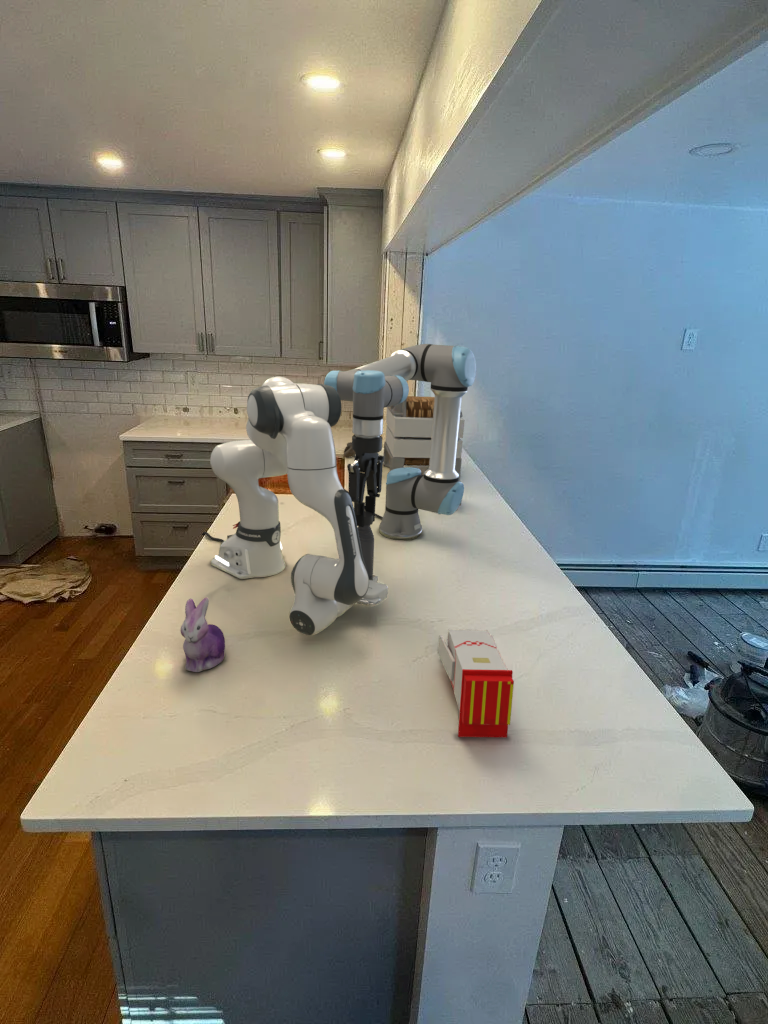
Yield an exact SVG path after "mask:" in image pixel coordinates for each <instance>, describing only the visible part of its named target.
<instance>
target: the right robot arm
mask: <svg viewBox="0 0 768 1024" xmlns="http://www.w3.org/2000/svg"><path fill="white" fill-rule="evenodd" d="M476 377H477V362H476V357H475V355H474V352H473V350H472V349H471V348H469V347H466V346H461V345H449V344H447V345H446V344H432V343H419V344H416V345H411V346H408V347H405V348H401V349H398V350H395V351H394V352H392V354H391V355H390V356H389V357H385V358H382V359H379V360H376V361H373V362H370V363H367V364H364V365H362V366H359V367H356V368H353V369H349V370H346V371H345V370H331V371H328V373H327V374H326V376H325V378H324V381H323V384H324V385H328V386H331V387H333V388H334V389H335V390H336V391H337V393H338V394H339V396H340V399H341V401H343V402H352V430H351V431H352V434H353V435H352V436H351V442H352V449H353V451H355V453H356V454H355V455H354V458H353V459H354V461H353V462H352V463H347V473H348V490H347V489H345V488H344V487H343V489H344V491H346V492H347V493H348V494H349V495H350V497H351V500H352V503H353V507H354V512H355V517H356V522H357V527H358V526H360V527H364V516H365V511H368V512H371V513H373V523H374V522H375V521H376V518H378V519H380V520H381V522H379V525H378V533H379V534H380V535H381V536H382V537H385V538H387V539H389V540H395V541H410V540H415V539H418V538H420V537H421V536H422V535H423V525H422V524H421V518H420V515H419V510H421V511H426V512H429V513H435V514H438V515H445V516H451V515H453V514H454V513H456V511H457V510H458V509H459V507H460V506H461V505H460V503H461V504H462V500H463V497H464V493H465V485H464V483H463V482H461V481H460V482H459V474H458V473H457V472H456V471H455V463H456V453H457V443H458V432H459V422H460V412H462V401H463V400H462V399H463V396H464V395H466V394H467V393H468V388H470V387H472V386H473V385H474V383H475V379H476ZM409 381H418V382H426V383H430V390H431V392H432V393H433V394H434V397H435V399H434V411H433V423H432V436H431V448H430V461H429V465H428V468H427V469H426V470H424V471H423V474H422V470H421V468H419V467H414V466H411V467H409V466H406V467H405V466H404V468H397V469H393V470H391V471H390V470H389V471H388V473H387V475H386V480H385V504H384V505H385V507H384V508H385V509H384V513H383V515H382V516H381V515H380V514H378V513H376V500H377V498H380V496H381V494H380V493H381V492H382V485H383V483H382V482H383V466H384V464H383V463H384V455H380V454H379V453H381V451H382V450H383V436H382V435H383V434H384V408H387V407H389V406H396V405H398V404H400V403H402V402H403V401H405V400H406V398H407V396H409V392H410V387H409V384H408V382H409ZM365 491H366V493H367V495H365ZM364 499H365V500H364ZM459 505H460V506H459Z"/></svg>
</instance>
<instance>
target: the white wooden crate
mask: <svg viewBox="0 0 768 1024" xmlns="http://www.w3.org/2000/svg"><path fill="white" fill-rule="evenodd" d="M434 399H435V396H415V395H414V396H413V395H412V396H411V395H408V396H407V398H406V400H405V401H403V402H402V403H400V404H398V405H396V406H389V407H386V413H385V414H386V415H385V423H386V428H385V438H384V442H383V456H384V462H383V466H384V467H388V468H389V472H390V471H391V470H393V469H397V468H405V466H406V467H409V466H411V467H417V466H418V467H429V461H430V448H431V436H432V423H433V411H434ZM464 429H465V419H464V418H463V411H461V412H460V422H459V432H458V443H457V453H456V463H455V471H456V472H457V473H458V474H459V482H461V472H462V461H463V460H462V453H463V442H464V441H463V440H462V439H463V438H464V431H465V430H464Z"/></svg>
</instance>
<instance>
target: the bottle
mask: <svg viewBox="0 0 768 1024" xmlns="http://www.w3.org/2000/svg"><path fill="white" fill-rule="evenodd" d="M357 527H358V533H359V538H360V544H361V549H362V555H363V559H364V562H365V565H366V568H367V571H368V574H369V580H370V576H372V575H374V558H375V535H374V532H373V530H372V527H371V525H368V526H364V527H360V526H357Z"/></svg>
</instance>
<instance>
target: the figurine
mask: <svg viewBox="0 0 768 1024" xmlns="http://www.w3.org/2000/svg"><path fill="white" fill-rule="evenodd" d="M209 603H210V600H209V598H208V597H204V598H202V599H201V601H200V603H199V604H198V605H197V606H196V602H195V601H194V599H193V598H188V599H187V601H186V603H185V612H184V613H185V618H184V620H183V621H182V624H181V625H180V634H181V636H182V637H183V638H184V641H183V643H182V650H183V654H184V656H185V659H186V661H185V667H184V668H185V670H187V671H189V672H193V673H200V672H202V671H205V670H211V669H213V668H214V667H216V666H218V665H219V664H220V663H222V662H223V661H224V659H225V651H226V638H225V635H224V632H223V630H222V629H221V628H220V627H219V626H218V625H216V624H212V623H211V624H210V623H208V621H207V619H206V615H207V612H208V608H209Z"/></svg>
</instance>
